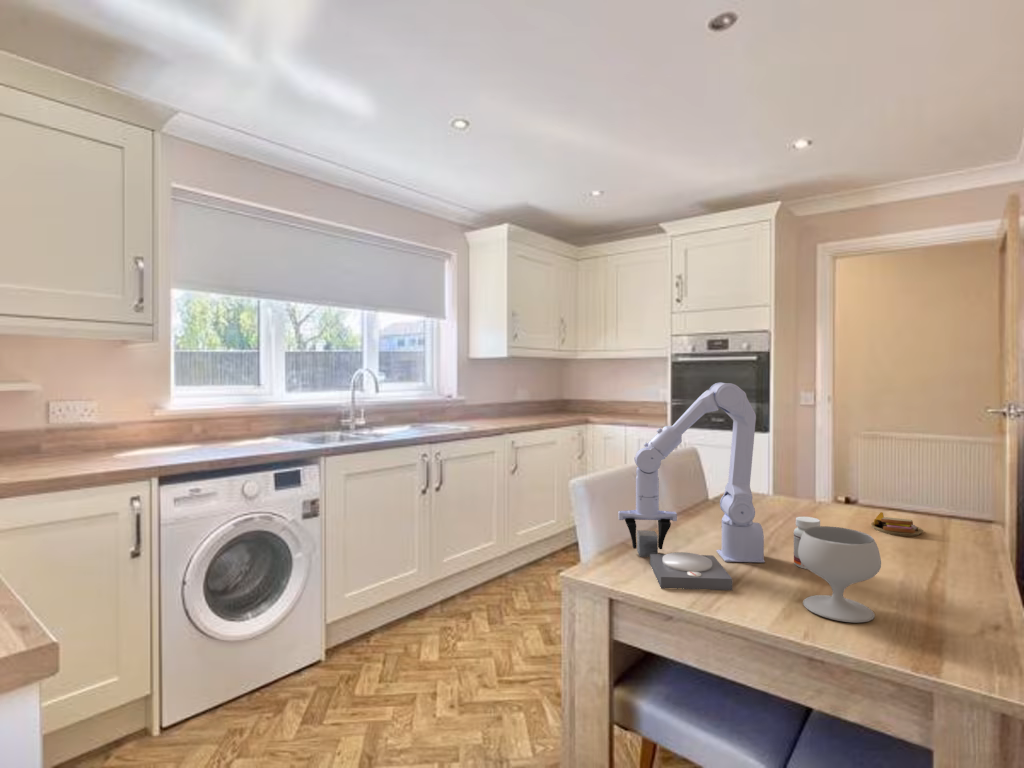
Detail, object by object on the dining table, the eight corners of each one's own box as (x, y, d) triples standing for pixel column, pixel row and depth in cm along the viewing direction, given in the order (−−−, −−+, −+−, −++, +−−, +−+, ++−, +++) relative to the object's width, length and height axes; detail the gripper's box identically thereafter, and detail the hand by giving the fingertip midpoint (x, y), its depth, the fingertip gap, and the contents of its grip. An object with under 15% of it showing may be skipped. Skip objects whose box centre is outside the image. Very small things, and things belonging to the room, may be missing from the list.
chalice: (785, 595, 115) (785, 524, 115) (853, 596, 115) (853, 524, 115) (820, 626, 101) (820, 545, 101) (898, 627, 101) (898, 546, 101)
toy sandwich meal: (926, 530, 161) (926, 514, 161) (917, 541, 152) (918, 524, 152) (876, 522, 170) (876, 507, 170) (865, 532, 161) (865, 515, 161)
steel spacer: (654, 551, 144) (654, 530, 144) (657, 557, 139) (657, 535, 139) (637, 551, 144) (637, 530, 144) (639, 557, 140) (639, 535, 140)
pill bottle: (827, 567, 132) (828, 520, 131) (813, 572, 128) (814, 524, 128) (802, 559, 137) (802, 514, 137) (788, 564, 133) (788, 518, 133)
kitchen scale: (713, 565, 133) (713, 552, 133) (732, 590, 118) (732, 575, 118) (649, 564, 134) (649, 550, 134) (660, 588, 120) (660, 573, 119)
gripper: (673, 492, 145) (673, 543, 145) (617, 491, 146) (617, 542, 146) (678, 498, 138) (678, 552, 138) (619, 497, 139) (619, 550, 139)
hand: (647, 547), depth 142 cm, fingers open, 6 cm apart
